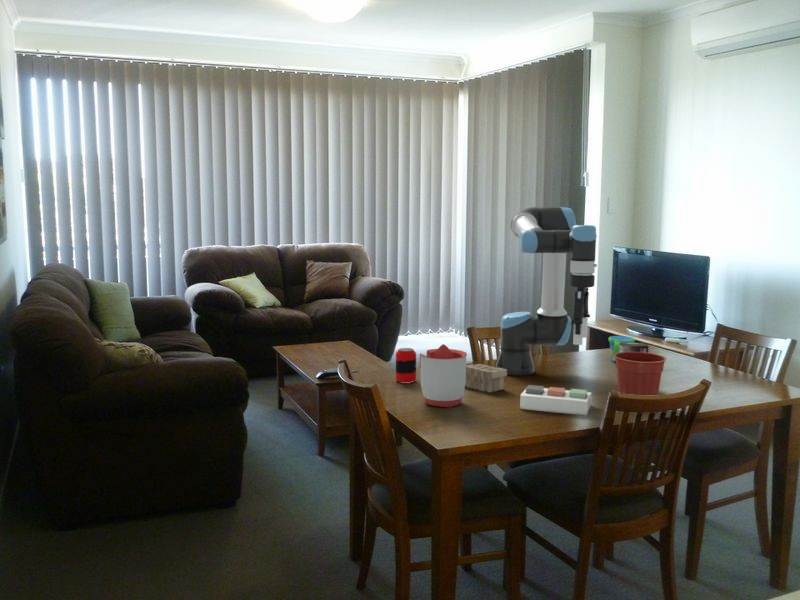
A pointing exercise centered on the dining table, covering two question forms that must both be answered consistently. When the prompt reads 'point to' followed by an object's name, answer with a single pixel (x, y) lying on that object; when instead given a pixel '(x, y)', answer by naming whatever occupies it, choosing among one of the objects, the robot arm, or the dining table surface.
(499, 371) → the block tower
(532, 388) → the charcoal key
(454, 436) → the dining table surface
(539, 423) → the dining table surface
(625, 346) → the coffee box
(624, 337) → the snack cup
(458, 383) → the citrus juicer
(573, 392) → the sage key
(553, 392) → the brick key
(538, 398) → the key panel
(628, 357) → the flower pot
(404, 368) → the soda can
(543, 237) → the robot arm
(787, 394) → the dining table surface
